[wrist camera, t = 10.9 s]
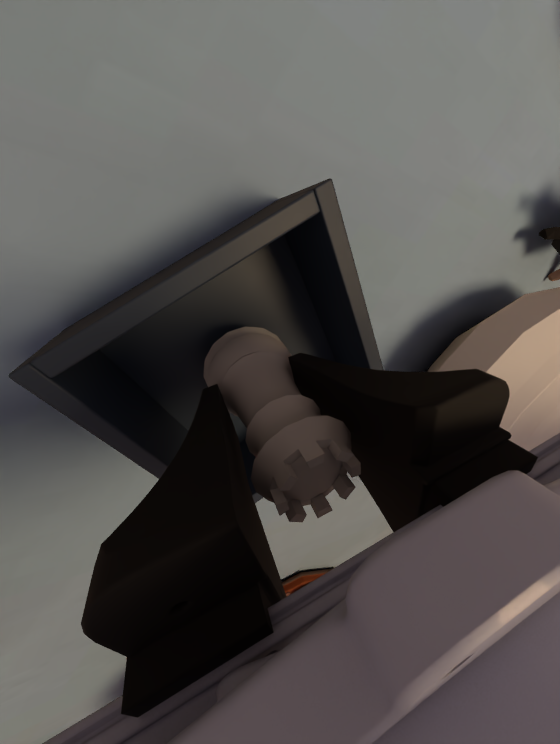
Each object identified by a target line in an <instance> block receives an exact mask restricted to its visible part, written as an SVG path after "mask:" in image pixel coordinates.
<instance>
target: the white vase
mask: <svg viewBox="0 0 560 744" xmlns="http://www.w3.org/2000/svg"><path fill="white" fill-rule="evenodd" d="M466 369H479V370H481V371H484V372H486V373H488V374H491V375H493V376H496V377H498V378H500V379H502V380H504V381H506V383H507V385H508V386H509V393H510V397H509V400H508V404H507V407H506V410H505V412H504V415H503V418H502V421H501V423H500V426H499V427H501V428H503V429H504V430H506V431H508V432H510V434H511V435H512V436H511V438H510V439H508V440H510V441H512V442H513V443H515V444H517V445H518V446H520V447H522V448H524V449H525V450H527V451H530V450H532V449H533V448H535V447H537V446H538V445H540V444H542V443H543V442H545V441H547V440H548V439H550V438H552V437H553V436H555V435H557V434H558V433H560V287H558V288H553V289H548V290H543V291H539V292H534V293H529V294H525V295H523V296H522V297H520V298H518V299H517V300H515V301H514V302H512V303H510V304H509V305H507V306H506V307H504V308H502V309H501V310H499V311H498V312H496V313H495V314H493V315H491V316H490V317H488V318H487V319H485V320H483V321H482V322H480V323H479V324H477V325H476V326H474V327H472V328H471V329H469V330H468V331H466V332H464V333H463V334H461V335H460V336H458V337H457V338H456V339H455V340H454V341H453V342H452V343H451V344H450V345H449V346H448V348H447V349H446V350H445V351H444V352H443V353H442V354H441V355H440V356H439V358H438V359H437V360H436V361H435V362H434V363H433V364H432V365H431V366H430V368H429V370H428V372H440V371H453V370H466Z"/></svg>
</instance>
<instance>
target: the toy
mask: <svg viewBox="0 0 560 744" xmlns="http://www.w3.org/2000/svg"><path fill="white" fill-rule="evenodd" d="M539 236H541V237H542V238H544V239H545V240H546V239H553V241H552V243H551V245H552V246H553V247H554V248H555V249H556V251H557V252H558V253H559V254H560V227H552V228H547V229H543V230H542V231H541V232H539ZM548 278H549V280H551V281H555V280H559V279H560V269H558V270H556V271H555V272H553V273H551V274H549V275H548Z"/></svg>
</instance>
